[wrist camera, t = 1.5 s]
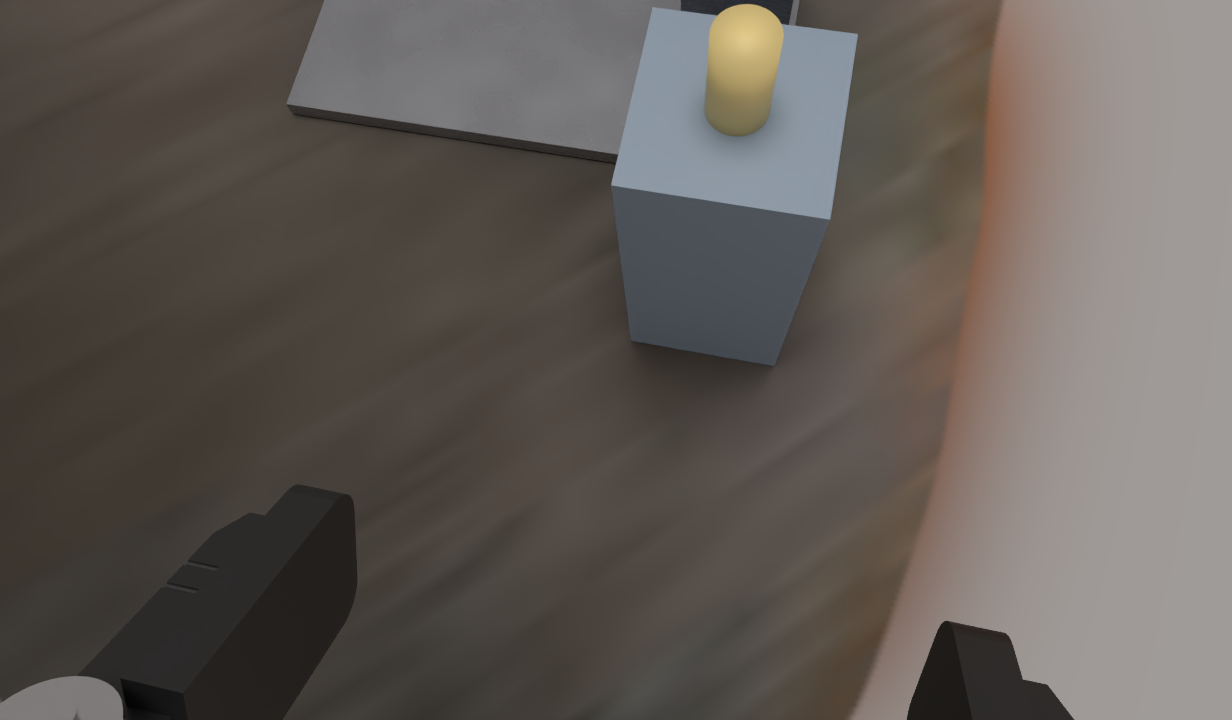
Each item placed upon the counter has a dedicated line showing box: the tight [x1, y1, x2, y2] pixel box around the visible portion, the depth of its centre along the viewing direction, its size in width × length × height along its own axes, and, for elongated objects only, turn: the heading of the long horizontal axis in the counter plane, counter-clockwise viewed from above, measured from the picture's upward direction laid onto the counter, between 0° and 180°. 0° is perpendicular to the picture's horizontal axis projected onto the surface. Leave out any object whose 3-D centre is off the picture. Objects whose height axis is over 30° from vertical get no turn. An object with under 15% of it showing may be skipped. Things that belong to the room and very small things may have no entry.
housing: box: [611, 4, 858, 366], centre depth 22 cm, size 5×5×12 cm
